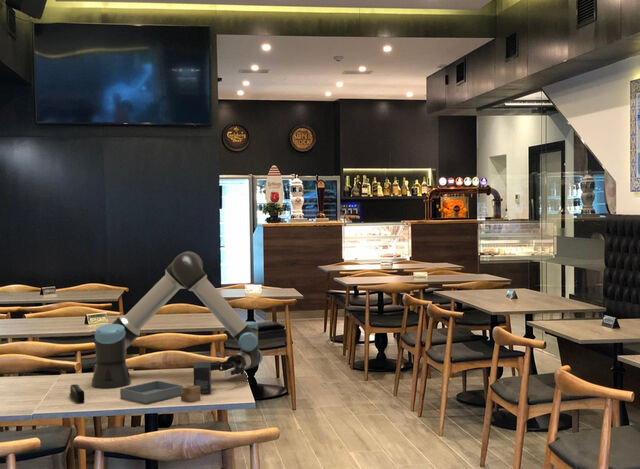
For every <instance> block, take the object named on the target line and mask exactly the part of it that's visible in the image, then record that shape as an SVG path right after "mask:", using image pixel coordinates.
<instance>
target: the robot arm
mask: <svg viewBox="0 0 640 469" xmlns="http://www.w3.org/2000/svg"><path fill="white" fill-rule="evenodd" d="M203 267H204V263H203V260H202V259H201V257H200V255H199V254H197V253H196V252H193V251H184V252H181V253H180V254H178V255H177V256H175V258H174V259H173V261H172V262H171V263H170V264H169V265H168V266H167V267H166V268H165V270H164V272H165V273H164V274H165V275H164V276H162V277H161V279H159V281H157V282H156V283H155V284H154V285H153V287H152V288H151V289H150V290H148V292H147V293H146V294H145V295H144V296H143V297H141V299H139V301H138V302H137V303H136V304H134V306H133V307H132V308H131V309H130V310H129V311H128V312H127V313H126V314H123V315H119V316H118V317H117V318H116V319H115V320H114V321H113V322H112V323H109V324H103V325H100V326H98V327H97V328H95V331H94V332H95V334H94V340H95V345H94V346H95V347H94V348H95V369H94V372H93V376H92V379H91V387H93V388H99V389H110V388H120V387H121V388H122V387H126V386H128V385H130V384H131V382H132V381H131V380H132V379H131V375H130V372H129V370H128V366H127V362H126V361H127V360H126V358H127V357H126V356H127V355H126V350H127V349H128V348H129V347H130V346H131V344H132V343H133V342H135V341H136V339H137V338H138V337H139V336H141V329H142V328H143V327H144V326H145V325H146V324H148V322H149V321H150V320H152V318H153V317H154V316H156V314H157V313H158V312H159V311H160V310H161V308H163V307H164V305H166V304H167V302H169V301H170V300H171V299H172V298H173V296H175V295H176V293H177V292H178V291H179V290H181V289H182V290H183V289H185V290H186V289H187V290H188V291H189V292H193V293H194V295H196V296H197V298H198V299H199V300H200V302H202V303H203V305H204V306H205V307H206V308H207V309H208V311H210V313H211V314H212V315H213V316H214V317H215V318H216V319H217V321H219V322H220V324H221V325H222V326H223V327H224V329H226V330H227V332H228V333H229V334H230V336H231V337H233V340H235V341H236V342H237V344H238V346H239V347H240V352H238V353H236V354H232V355H230V356H229V357H228V358H227V359H226V360H224V361H219V360H218V361H213V362H210V363H211V372H213V371H219V372H223V371H224V378H225V379H228V378H230V377H234V376H235V375H241V376H242V375H245V371H247V370H250V369H251V368H256V367H257V366H259V365H260V364H261V363H262V361H263V358H264V357H263V353H262V351H261V350H260V349H259V326H258V323H257V322H256V321H245V320H244V319H243V318H242V317H241V316H240V315H239V314H238V313H237V312H236V311H235V309H234V308H233V307H232V306H231V305H230V303H228V301H227V300H226V298H224V297H223V295H222V294H221V293H220V292H219V291H218V289H216V287H215V286H214V285H213V284H212V283H211V282H210V281H209V279H208V275H207V274H206V272H205V271H204V270H203V269H204V268H203Z"/></svg>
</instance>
